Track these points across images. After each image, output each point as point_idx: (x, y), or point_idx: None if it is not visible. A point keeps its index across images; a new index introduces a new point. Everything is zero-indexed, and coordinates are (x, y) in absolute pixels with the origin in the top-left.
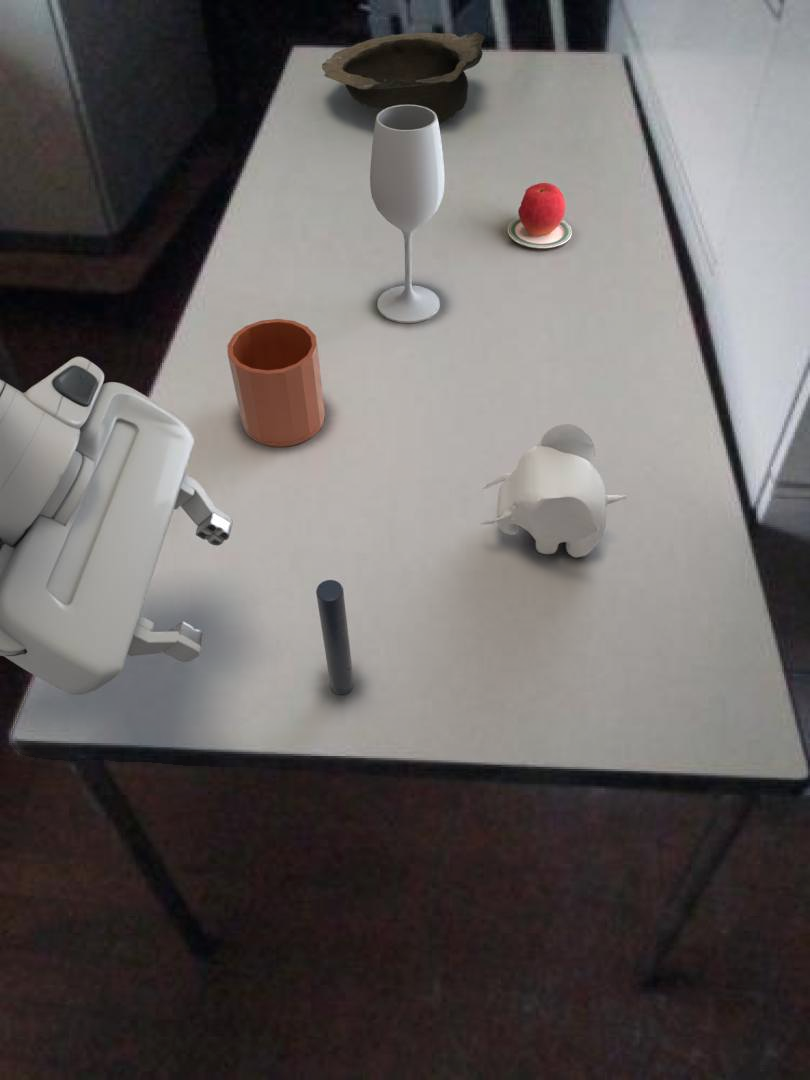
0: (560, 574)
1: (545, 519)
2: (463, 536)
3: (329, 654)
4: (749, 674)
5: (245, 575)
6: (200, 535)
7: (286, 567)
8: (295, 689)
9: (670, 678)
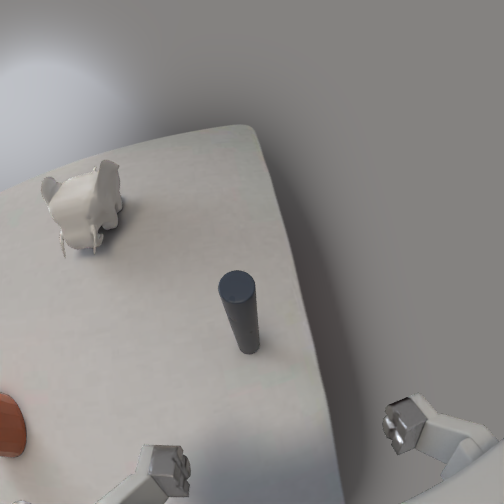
0: (134, 214)
1: (105, 195)
2: (98, 277)
3: (257, 331)
4: (202, 136)
5: None
6: (187, 489)
7: (133, 419)
8: (262, 382)
9: (208, 159)
